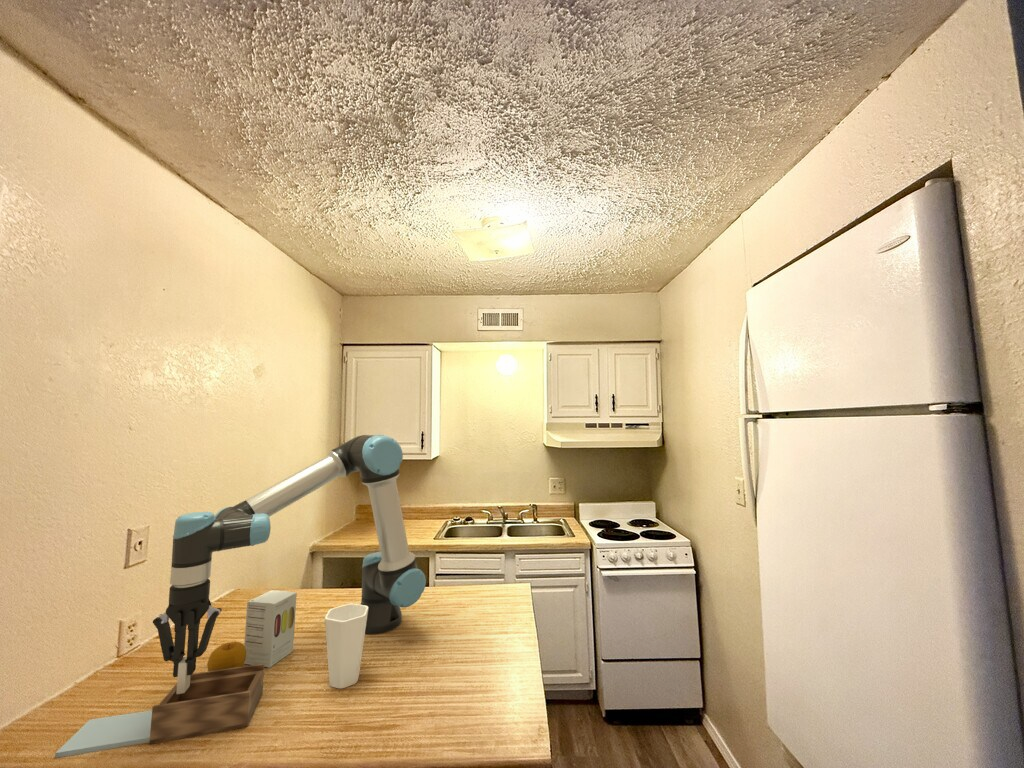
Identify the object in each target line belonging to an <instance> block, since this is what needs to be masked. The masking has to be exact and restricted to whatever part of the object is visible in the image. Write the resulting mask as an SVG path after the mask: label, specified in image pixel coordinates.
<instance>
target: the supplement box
mask: <svg viewBox="0 0 1024 768" xmlns="http://www.w3.org/2000/svg"><path fill="white" fill-rule="evenodd" d="M297 594H298V593H297V592H296V591H284V590H275V589H271V590H269V591H266V592H265V593H263V594H261V595H259V596H256V597H254V598H252V599H249V600H248V601H247V602H246V603H247V604H246V613H245V614H246V616H245V630H244V643H243V645H244V646H245V649H246V660H245V663H244V665H247V666H250V665H257V664H264V668H271V667H273V666H274V665H276V664H277V663H279V662H280V661H281V660H283V659H284V658H285V657H287V656H288V655H289V654H291V653H292V652H294V644H295V641H294V640H295V627H296V626H295V625H296V613H297V612H296V610H297V608H296V607H297Z"/></svg>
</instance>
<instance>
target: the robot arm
mask: <svg viewBox="0 0 1024 768" xmlns="http://www.w3.org/2000/svg"><path fill="white" fill-rule="evenodd" d="M403 457H404V453H403V450H402V448H401V445H400V444H399V442H398V441H397V440H395V439H394V438H392V437H390V436H387V435H384V434H371V435H369V434H363V435H357V436H355V437H353V438H351V439H349V440H347V441H345V442H344V443H342V444H340V445H338V446H337V447H335V448H333V449H331V450H329V451H328V453H327V455H326V456H325V457H323V458H321V459H319V460H317V461H315V462H314V463H312V464H310V465H307V467H305V468H303V469H302V468H301V470H299V471H297V472H295V473H294V474H292V475H290V476H288V477H285V478H284V479H282V480H280V481H279V482H277V483H275V484H273V485H271V486H269V487H267V488H266V489H265V488H264V490H262V491H260V492H258V493H256V494H254V495H253V496H250V497H248V498H247V499H245V500H243V501H240V502H239V503H238V504H235V505H234V506H226V507H224V508H222V509H220V510H219V511H218V512H216V514H215V513H213V512H211V511H196V512H189V513H188V512H187V513H185V514H184V513H183V514H181V515H180V516H178V517H177V518H176V520H175V523H174V531H173V535H172V553H171V567H170V578H169V584H170V585H171V586H170V587H169V593H168V594H169V595H168V605H167V606H166V607H167V608H166V609H165V611H164V612H163V613H161V614H159V615H157V617H155V618H154V619H152V624H153V625H154V627H155V628H156V629H157V633H158V637H159V638H158V639H159V643H160V646H161V647H160V648H161V652H162V657H163V661H164V662H169V661H170V662H172V663H173V668H172V669H173V671H172V676H173V678H177V681H176V684H177V693H176V694H182V693H185V691H186V690H187V689H188V688H189V686H190V675H192V674H193V673H195V670H196V669H197V666H196V665H197V658H200V657H202V655H203V654H204V653H205V652H206V651H207V649H208V646H209V642H210V640H211V635H212V633H213V630H214V627H215V623H216V620H217V618H218V617H219V615H220V614H221V612H222V610H223V609H222V608H221V607H218V608H216V607H214V606H212V602H211V601H210V593H211V592H210V588H211V580H210V579H209V578H211V574H212V573H211V572H212V562H213V561H212V559H213V557H212V556H213V553H215V552H220V551H225V550H226V551H227V550H233V549H240V548H245V547H250V546H251V547H254V546H255V545H260V544H264V543H266V542H267V541H268V540H269V539H270V535H271V520H270V517H272V516H273V515H276V514H277V513H278V512H280V511H281V510H283V509H286V508H287V507H289V506H291V505H292V504H294V503H296V502H298V501H299V500H301V499H303V498H305V497H306V496H308V495H309V494H311V493H313V492H315V491H316V490H318V489H320V488H322V487H323V486H326V485H327V484H329V483H330V482H332V481H334V480H335V479H337V478H339V477H340V478H345V477H347V476H349V475H350V474H352V473H356V472H359V475H360V481H361V484H362V485H365V486H366V487H367V489H368V493H369V501H370V504H371V509H372V514H373V521H374V526H375V532H376V537H377V540H378V541H377V542H378V546H379V551H377V552H373V553H369V554H367V555H366V556H364V557H363V561H362V567H361V570H362V571H361V572H362V573H361V574H362V575H361V601H360V604H359V605H365V606H368V615H367V622H366V629H365V635H375V634H376V635H377V634H383V633H388V632H390V631H393V630H394V629H396V628H398V627H399V626H400V625H401V624H402V621H403V620H402V619H403V616H402V615H403V614H402V610H401V608H409V607H411V606H413V605H414V604H415V603H417V602H418V601H419V599H420V598H421V597H422V594H423V593H424V591H425V588H426V583H427V580H426V575H425V573H424V572H423V570H421V569H419V568H418V564H417V559H416V555H415V553H413V552H411V551H410V549H409V543H408V538H407V537H408V536H407V533H406V528H405V526H406V525H405V522H404V518H403V517H404V516H403V511H402V506H401V505H402V504H401V501H400V494H399V491H398V490H399V489H398V485H397V479H398V478H399V476H400V474H401V472H400V467H401V463H402V462H403V459H404V458H403ZM205 614H207V615H206V618H207V621H206V623H205V626H204V629H203V632H202V635H201V637H200V641H199V633H200V624H201V620H202V619H203V617H204V616H205ZM169 620H170V621H171V622H172V624H174V629H173V631H174V639H173V635H172V630H171V625H170V622H169ZM187 631H188V633H187ZM187 634H188V636H187ZM186 636H187V644H186ZM186 645H187V646H186ZM186 647H187V648H186ZM185 649H186V652H185Z"/></svg>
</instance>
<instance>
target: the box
mask: <svg viewBox="0 0 1024 768" xmlns="http://www.w3.org/2000/svg"><path fill="white" fill-rule="evenodd" d="M264 673H265V667H264V664H257V665H243V667H235V668H228V669H221V670H214V671H208V670H206V671H202V672H193V674H192V675H190V686H189V688H188V689H187V690H186V691H185V693H182V694H176V693H177V683H176V684H175V685H174V686H173V687H172V689H170V691H169V692H168V693H167V695H166V696H165V697H164V698H163V699H162V701H161V702H160V703H159V704H154V705H153V706H152V708H151V710H152V718H151V730H150V742H148V745H154V744H159V743H165V742H172V741H176V740H181V739H187V738H192V737H198V736H204V735H210V734H215V733H221V732H226V731H227V732H229V731H234V730H239V729H245V728H248V726H249V724H250V722H251V719H252V718H253V716H254V713H255V711H256V709H257V707H258V705H259V703H260V700H261V698H262V697H263V695H264V694H263V690H264Z"/></svg>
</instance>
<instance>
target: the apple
mask: <svg viewBox="0 0 1024 768" xmlns="http://www.w3.org/2000/svg"><path fill="white" fill-rule="evenodd" d="M245 660H246V649H245V646H244V643H242V642H241V641H230V642H226V643H223V644H221V645H219V646H218V647H216V648H215V649H213V651H212V652H211V654H210V655H209V657H208V660H207V664H206V666H207V671H214V670H221V669H228V668H235V667H243V666H245V664H244V663H245Z"/></svg>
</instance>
